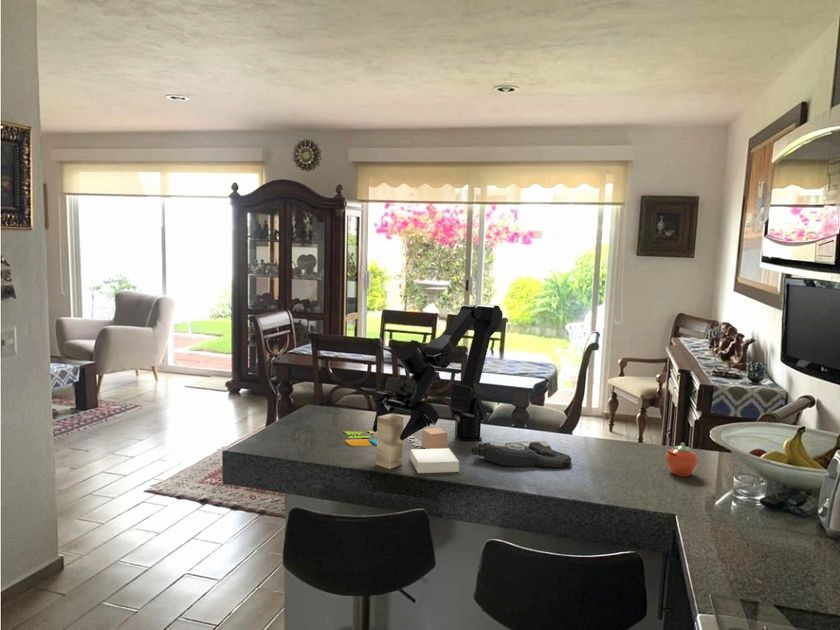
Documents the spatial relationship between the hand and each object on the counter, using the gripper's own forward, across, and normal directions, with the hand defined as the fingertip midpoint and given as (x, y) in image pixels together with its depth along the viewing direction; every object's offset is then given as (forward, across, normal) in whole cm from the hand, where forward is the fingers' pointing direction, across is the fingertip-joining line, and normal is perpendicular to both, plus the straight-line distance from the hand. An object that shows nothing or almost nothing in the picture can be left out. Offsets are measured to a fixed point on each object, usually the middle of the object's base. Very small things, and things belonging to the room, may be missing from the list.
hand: (387, 435), depth 147 cm
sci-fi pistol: (-14, +22, +25) cm, 36 cm away
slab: (-1, +8, +12) cm, 14 cm away
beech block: (+5, 0, +6) cm, 8 cm away
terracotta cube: (-8, 0, +19) cm, 21 cm away
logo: (-5, -18, +16) cm, 24 cm away
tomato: (-29, +54, +40) cm, 73 cm away
